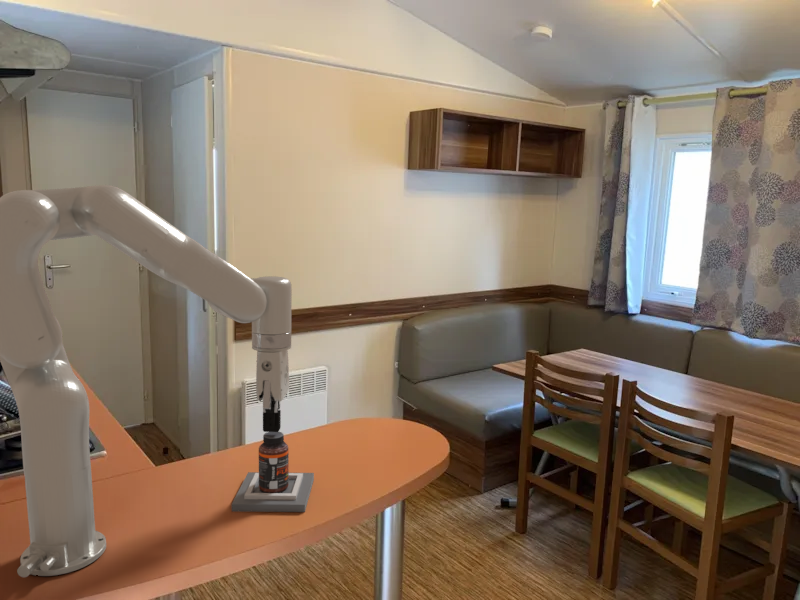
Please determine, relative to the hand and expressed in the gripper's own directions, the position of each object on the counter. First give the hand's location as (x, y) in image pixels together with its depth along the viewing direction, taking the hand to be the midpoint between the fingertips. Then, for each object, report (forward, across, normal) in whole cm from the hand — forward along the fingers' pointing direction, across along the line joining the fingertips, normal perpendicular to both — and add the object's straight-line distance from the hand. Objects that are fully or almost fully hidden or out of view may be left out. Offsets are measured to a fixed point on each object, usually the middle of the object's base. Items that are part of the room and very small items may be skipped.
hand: (271, 430), depth 123 cm
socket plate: (+14, 0, -1) cm, 14 cm away
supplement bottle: (+12, 0, 0) cm, 13 cm away
